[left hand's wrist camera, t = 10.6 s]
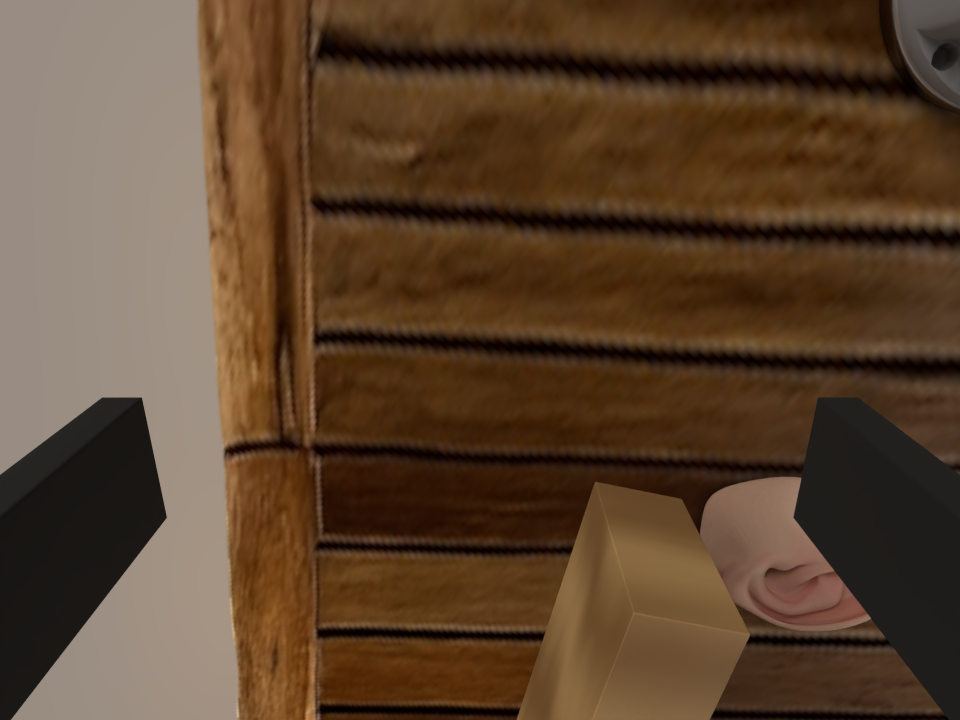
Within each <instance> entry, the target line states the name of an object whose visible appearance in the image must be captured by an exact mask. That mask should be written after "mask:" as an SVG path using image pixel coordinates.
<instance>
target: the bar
mask: <svg viewBox="0 0 960 720" xmlns="http://www.w3.org/2000/svg"><path fill="white" fill-rule="evenodd" d="M749 636H750V633H749V631H748V629H747V627H746V625H745V623H744V622H743V620H742V618H741V616H740V614H739V612H738V610H737V608H736V606H735V604H734V602H733V600H732V598H731V596H730V594H729V592H728V590H727V588H726V586H725V584H724V582H723V580H722V578H721V576H720V574H719V572H718V570H717V568H716V566H715V564H714V562H713V560H712V558H711V556H710V554H709V552H708V550H707V548H706V546H705V544H704V542H703V540H702V538H701V536H700V534H699V533H698V531H697V529H696V527H695V525H694V523H693V521H692V519H691V517H690V515H689V513H688V511H687V509H686V507H685V505H684V503H683V501H682V499H679V498H674V497H669V496H664V495H659V494H654V493H649V492H644V491H639V490H634V489H629V488H624V487H619V486H614V485H609V484H604V483H599V482H595V484H594V487H593V490H592V493H591V496H590V499H589V502H588V505H587V508H586V511H585V514H584V518H583V521H582V524H581V527H580V530H579V533H578V536H577V539H576V542H575V545H574V548H573V551H572V554H571V557H570V560H569V563H568V566H567V569H566V572H565V575H564V578H563V581H562V584H561V587H560V590H559V593H558V596H557V599H556V602H555V605H554V608H553V611H552V615H551V618H550V621H549V624H548V627H547V630H546V633H545V636H544V639H543V642H542V645H541V648H540V651H539V654H538V657H537V660H536V663H535V666H534V669H533V672H532V675H531V678H530V681H529V684H528V687H527V690H526V693H525V696H524V699H523V702H522V705H521V709H520V712H519V715H518V718H517V720H710V718H711V716H712V714H713V712H714V710H715V708H716V705H717V703H718V701H719V699H720V697H721V695H722V693H723V691H724V689H725V687H726V684H727V682H728V680H729V678H730V676H731V674H732V672H733V670H734V668H735V666H736V663H737V661H738V659H739V657H740V655H741V653H742V651H743V649H744V647H745V645H746V642H747V640H748V638H749Z"/></svg>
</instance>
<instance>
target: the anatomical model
mask: <svg viewBox="0 0 960 720" xmlns="http://www.w3.org/2000/svg"><path fill="white" fill-rule="evenodd" d="M800 483H801V478H798V477H772V478H764V479H758V480H752V481H747V482H742V483H738V484H735V485H731V486H728V487H725V488H723V489H721V490H719V491H717V492H716V493H714V494H713V495H712V496H711V497H710V498H709V500H708V501H707V503H706V505H705V508H704V512H703V516H702V522H701V529H700V536H701V538H702V540H703V542H704V544H705V546H706V548H707V550H708V552H709V554H710V556H711V558H712V560H713V562H714V564H715V566H716V568H717V570H718V572H719V574H720V576H721V578H722V580H723V582H724V584H725V586H726V588H727V590H728V592H729V594H730V596H731V598H732V600H733V602H734V603H735V604H737V605H738V606H740V607H742V608H744V609H746V610H747V611H749V612H751V613H753V614H754V615H756V616H758V617H760V618H762V619H764V620H766V621H767V622H770V623H772V624H774V625H777V626H780V627H783V628H786V629H791V630H797V631H831V630H838V629H843V628H847V627H851V626H854V625H857V624H860V623H863V622H865V621H867V620H869V619H871V618H870V616H869V615H868V614H867V613H866V611H865V610H864V609H863V607H862V606H861V605H860V604H859V602H858V601H857V600H856V598H855V597H854V596H853V594H852V593H851V592H850V591H849V589H848V588H847V587H846V585H845V584H844V583H843V581H842V580H841V579H840V578H839V576H838V575H837V574H836V572H835V571H834V570H833V569H832V567H831V566H830V565H829V563H828V562H827V561H826V559H825V558H824V557H823V556H822V554H821V553H820V552H819V550H818V549H817V548H816V546H815V545H814V544H813V543H812V541H811V540H810V539H809V537H808V536H807V535H806V534H805V532H804V531H803V530H802V528H801V527H800V526H799V524H798V523H797V522H796V521H795V519H794V518H793V516H794V511H795V507H796V502H797V497H798V492H799V487H800Z"/></svg>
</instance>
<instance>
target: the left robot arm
mask: <svg viewBox="0 0 960 720" xmlns="http://www.w3.org/2000/svg"><path fill="white" fill-rule="evenodd" d="M879 1H880V19H881V27H882V31H883V36H884V40H885V43H886V46H887V49H888V52H889V54H890V56H891V59H892V61H893V63H894V65H895V66H896V68H897V70H898V71H899V73H900V75H901V76H902V77H903V78H904V80H905V81H906V82H907V83H908V85H910V86H911V87H912V88H913V89H914V90H915V91H916V92H917V93H918V94H919V95H921V96H922V97H923V98H925V99H926V100H928V101H929V102H931V103H933V104H935V105H936V106H939V107H941V108H943V109H946V110H949V111H952V112H956V113H960V0H879ZM166 518H167V516H166V511H165V507H164V502H163V497H162V492H161V487H160V483H159V478H158V473H157V468H156V463H155V459H154V454H153V449H152V444H151V440H150V435H149V430H148V425H147V420H146V415H145V411H144V406H143V401H142V398H101V399H100V400H99V401H97V402H96V403H95V404H93V405H92V406H91V407H89V408H88V409H87V410H85V411H84V412H83V413H81V414H80V415H79V416H77V417H76V418H75V419H74V420H72V421H71V422H70V423H68V424H67V425H66V426H64V427H63V428H62V429H60V430H59V431H58V432H56V433H55V434H54V435H52V436H51V437H50V438H48V439H47V440H46V441H44V442H43V443H42V444H41V445H39V446H38V447H37V448H35V449H34V450H33V451H31V452H30V453H29V454H27V455H26V456H25V457H23V458H22V459H21V460H19V461H18V462H17V463H15V464H14V465H13V466H11V467H10V468H9V469H7V470H6V471H5V472H4V473H2V474H1V475H0V720H11V719H12V718H13V716H14V715H15V714H16V712H17V711H18V710H19V708H20V707H21V706H22V705H23V703H24V702H25V701H26V699H27V698H28V697H29V695H30V694H31V693H32V692H33V690H34V689H35V688H36V686H37V685H38V684H39V683H40V681H41V680H42V679H43V677H44V676H45V675H46V674H47V672H48V671H49V670H50V668H51V667H52V666H53V664H54V663H55V662H56V660H57V659H58V658H59V657H60V655H61V654H62V653H63V651H64V650H65V649H66V648H67V646H68V645H69V644H70V642H71V641H72V640H73V639H74V637H75V636H76V635H77V633H78V632H79V631H80V629H81V628H82V627H83V625H84V624H85V623H86V622H87V620H88V619H89V618H90V616H91V615H92V614H93V613H94V611H95V610H96V609H97V607H98V606H99V605H100V603H101V602H102V601H103V600H104V598H105V597H106V596H107V594H108V593H109V592H110V590H111V589H112V588H113V587H114V585H115V584H116V583H117V581H118V580H119V579H120V578H121V576H122V575H123V574H124V572H125V571H126V570H127V569H128V567H129V566H130V565H131V563H132V562H133V561H134V559H135V558H136V557H137V556H138V554H139V553H140V552H141V550H142V549H143V548H144V546H145V545H146V544H147V542H148V541H149V540H150V539H151V537H152V536H153V535H154V533H155V532H156V531H157V530H158V528H159V527H160V526H161V524H162V523H163V522H164V521H165V519H166ZM793 518H794V519H795V521H796V522H797V523H798V524H799V526H800V527H801V528H802V530H803V531H804V532H805V534H806V535H807V536H808V537H809V539H810V540H811V541H812V543H813V544H814V545H815V546H816V548H817V549H818V550H819V552H820V553H821V554H822V556H823V557H824V558H825V559H826V561H827V562H828V563H829V565H830V566H831V567H832V569H833V570H834V571H835V572H836V574H837V575H838V576H839V578H840V579H841V580H842V581H843V583H844V584H845V585H846V587H847V588H848V589H849V591H850V592H851V593H852V594H853V596H854V597H855V598H856V600H857V601H858V602H859V604H860V605H861V606H862V607H863V609H864V610H865V611H866V613H867V614H868V615H869V616H870V618H871V619H872V620H873V622H874V623H875V624H876V626H877V627H878V628H879V629H880V631H881V632H882V633H883V635H884V636H885V637H886V639H887V640H888V641H889V642H890V644H891V645H892V646H893V648H894V649H895V650H896V651H897V653H898V654H899V655H900V657H901V658H902V659H903V661H904V662H905V663H906V664H907V666H908V667H909V668H910V670H911V671H912V672H913V674H914V675H915V676H916V677H917V679H918V680H919V681H920V683H921V684H922V685H923V686H924V688H925V689H926V690H927V692H928V693H929V694H930V696H931V697H932V698H933V699H934V701H935V702H936V703H937V705H938V706H939V707H940V709H941V710H942V711H943V712H944V714H945V715H946V716H947V718H948V719H949V720H960V475H959V474H958V473H956V472H955V471H954V470H953V469H951V468H950V467H949V466H947V465H946V464H945V463H943V462H942V461H941V460H939V459H938V458H937V457H935V456H934V455H933V454H931V453H930V452H929V451H927V450H926V449H925V448H923V447H922V446H921V445H920V444H918V443H917V442H916V441H914V440H913V439H912V438H910V437H909V436H908V435H906V434H905V433H904V432H902V431H901V430H900V429H898V428H897V427H896V426H894V425H893V424H892V423H890V422H889V421H888V420H887V419H885V418H884V417H883V416H881V415H880V414H879V413H877V412H876V411H875V410H873V409H872V408H871V407H869V406H868V405H867V404H865V403H864V402H863V401H861V400H860V399H859V398H818V401H817V406H816V411H815V415H814V420H813V425H812V430H811V435H810V439H809V444H808V449H807V454H806V459H805V463H804V468H803V473H802V478H801V483H800V487H799V492H798V497H797V502H796V507H795V511H794V516H793Z"/></svg>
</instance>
